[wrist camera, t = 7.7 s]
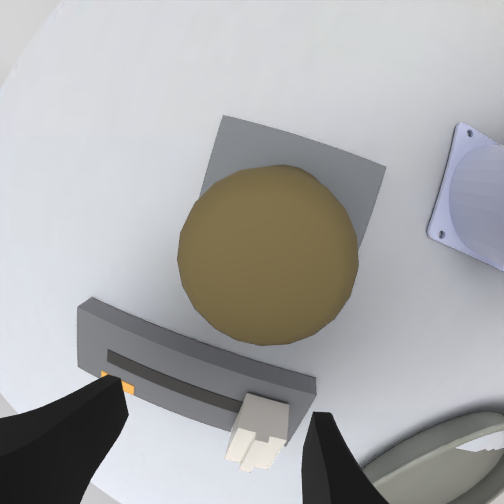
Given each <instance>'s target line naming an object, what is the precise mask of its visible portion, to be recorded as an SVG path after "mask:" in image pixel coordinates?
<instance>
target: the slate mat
mask: <svg viewBox="0 0 504 504" xmlns="http://www.w3.org/2000/svg"><path fill="white" fill-rule="evenodd" d="M282 164H284V165H289V166H294V167H299V168H301V169H303V170H305V171H306V172H308V173H310V174H312V175H313V176H314V177H315V178H316V179H317V180H318V181H319V182H320V183H321V184H322V185H324V186H326V187H327V188H328V189H329V190H330V191H331V193H332V194H333V195H334V196H335V197H336V198H337V199H338V201H339V202H340V203H341V204H342V205H343V206H344V208H345V209H346V210H347V213H348V215H349V218H350V220H351V223H352V225H353V228H354V230H355V233H356V235H357V244H358V250H359V247H360V245H361V242H362V239H363V237H364V234H365V231H366V228H367V225H368V222H369V220H370V217H371V214H372V211H373V208H374V205H375V202H376V199H377V196H378V193H379V189H380V186H381V183H382V180H383V177H384V173H385V170H386V167H385V166H382V165H380V164H377V163H375V162H372V161H370V160H367V159H365V158H362V157H359V156H357V155H354V154H351V153H349V152H346V151H343V150H340V149H337V148H335V147H332V146H329V145H326V144H323V143H320V142H317V141H314V140H311V139H308V138H305V137H301V136H298V135H295V134H292V133H288V132H285V131H282V130H278V129H275V128H271V127H267V126H264V125H260V124H256V123H253V122H249V121H245V120H241V119H237V118H233V117H228V116H224V115H223V117H222V120H221V123H220V127H219V130H218V133H217V136H216V140H215V143H214V147H213V150H212V153H211V157H210V160H209V164H208V167H207V171H206V174H205V178H204V182H203V185H202V189H201V193H200V197H201V196H202V195H203V194H204V193H205V192H206V191H207V190H208V189H209V188H210V187H211V186H212V185H213V184H214V183H215V182H217V181H219V180H221V179H223V178H225V177H227V176H229V175H231V174H233V173H235V172H237V171H239V170H243V169H250V168H258V167H265V166H273V165H282ZM200 197H199V198H200Z"/></svg>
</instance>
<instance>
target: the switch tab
mask: <svg viewBox="0 0 504 504" xmlns="http://www.w3.org/2000/svg"><path fill="white" fill-rule="evenodd" d="M288 418H289V405H288V404H284V403H281V402H277V401H273V400H270V399H266V398H263V397H259V396H256V395H252V394H249V393H247V394H246V396H245V399H244V401H243V404H242V406H241V408H240V411H239V413H238V416H237V418H236V420H235V423H234V425H233V429H232V432H231V436H230V440H229V443H228V447H227V450H226V454H225V458H224V459H227V460H231V461H234V462H238V463H240V467H239V470H242V471H246V472H250V473H251V471H252V470H253V468H254V467H257V468H261V469H266V470H268V469H269V467H270V466H271V464H272V463H273V461H274V460H275V458H276V457H277V455H278V454H279V452H280V451H281V449H282V447H283V446H284V444H285V443H286V441H287V433H288Z"/></svg>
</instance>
